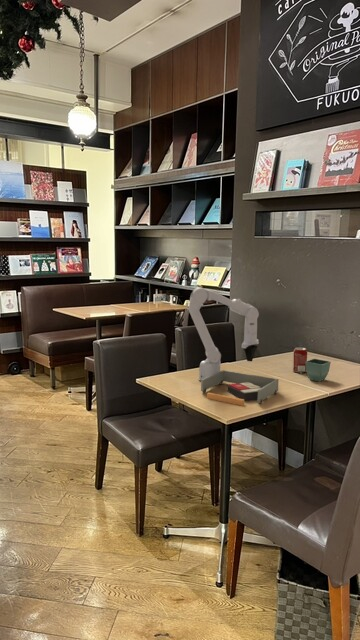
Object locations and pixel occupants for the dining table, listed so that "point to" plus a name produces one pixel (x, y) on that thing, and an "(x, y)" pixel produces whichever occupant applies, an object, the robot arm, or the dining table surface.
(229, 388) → the calculator
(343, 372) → the dining table surface
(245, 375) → the grey u-shaped barrier
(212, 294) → the robot arm
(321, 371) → the flower pot
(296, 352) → the soda can
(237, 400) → the bar
